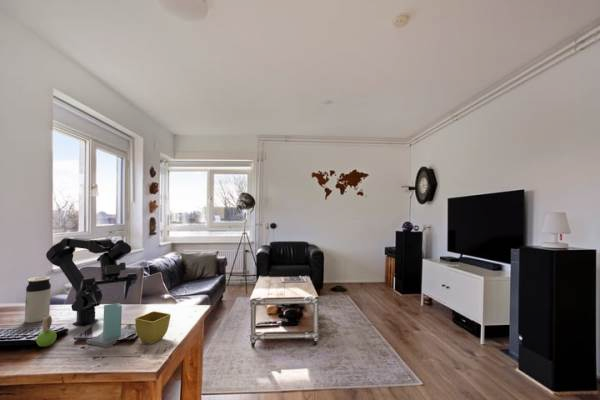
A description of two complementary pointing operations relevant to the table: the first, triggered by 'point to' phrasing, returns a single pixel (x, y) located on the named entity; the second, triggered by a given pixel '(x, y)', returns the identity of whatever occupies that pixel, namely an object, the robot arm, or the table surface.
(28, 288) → the travel mug
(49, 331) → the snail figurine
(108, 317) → the block
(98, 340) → the coaster
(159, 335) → the flower pot
